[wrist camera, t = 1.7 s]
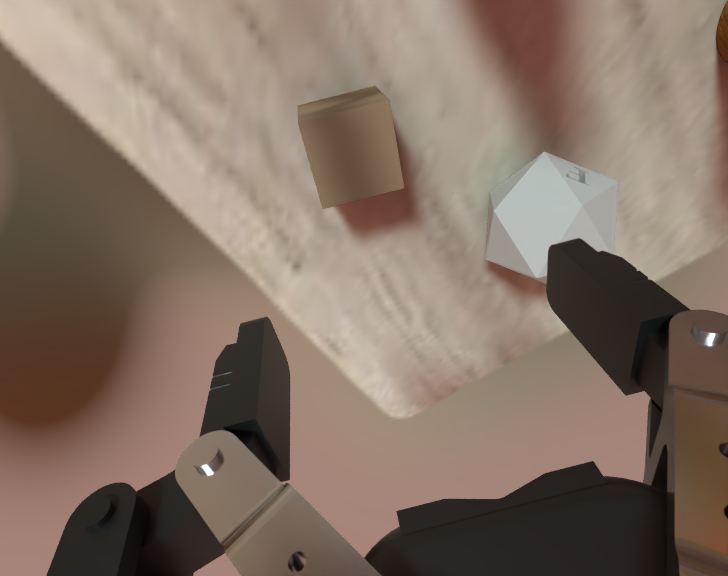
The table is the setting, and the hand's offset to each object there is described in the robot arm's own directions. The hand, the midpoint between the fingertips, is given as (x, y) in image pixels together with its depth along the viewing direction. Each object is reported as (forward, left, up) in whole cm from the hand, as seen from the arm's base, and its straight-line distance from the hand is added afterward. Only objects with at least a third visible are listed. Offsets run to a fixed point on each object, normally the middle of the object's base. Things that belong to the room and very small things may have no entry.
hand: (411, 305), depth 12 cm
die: (-12, +8, -20) cm, 24 cm away
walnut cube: (0, 0, -19) cm, 19 cm away
